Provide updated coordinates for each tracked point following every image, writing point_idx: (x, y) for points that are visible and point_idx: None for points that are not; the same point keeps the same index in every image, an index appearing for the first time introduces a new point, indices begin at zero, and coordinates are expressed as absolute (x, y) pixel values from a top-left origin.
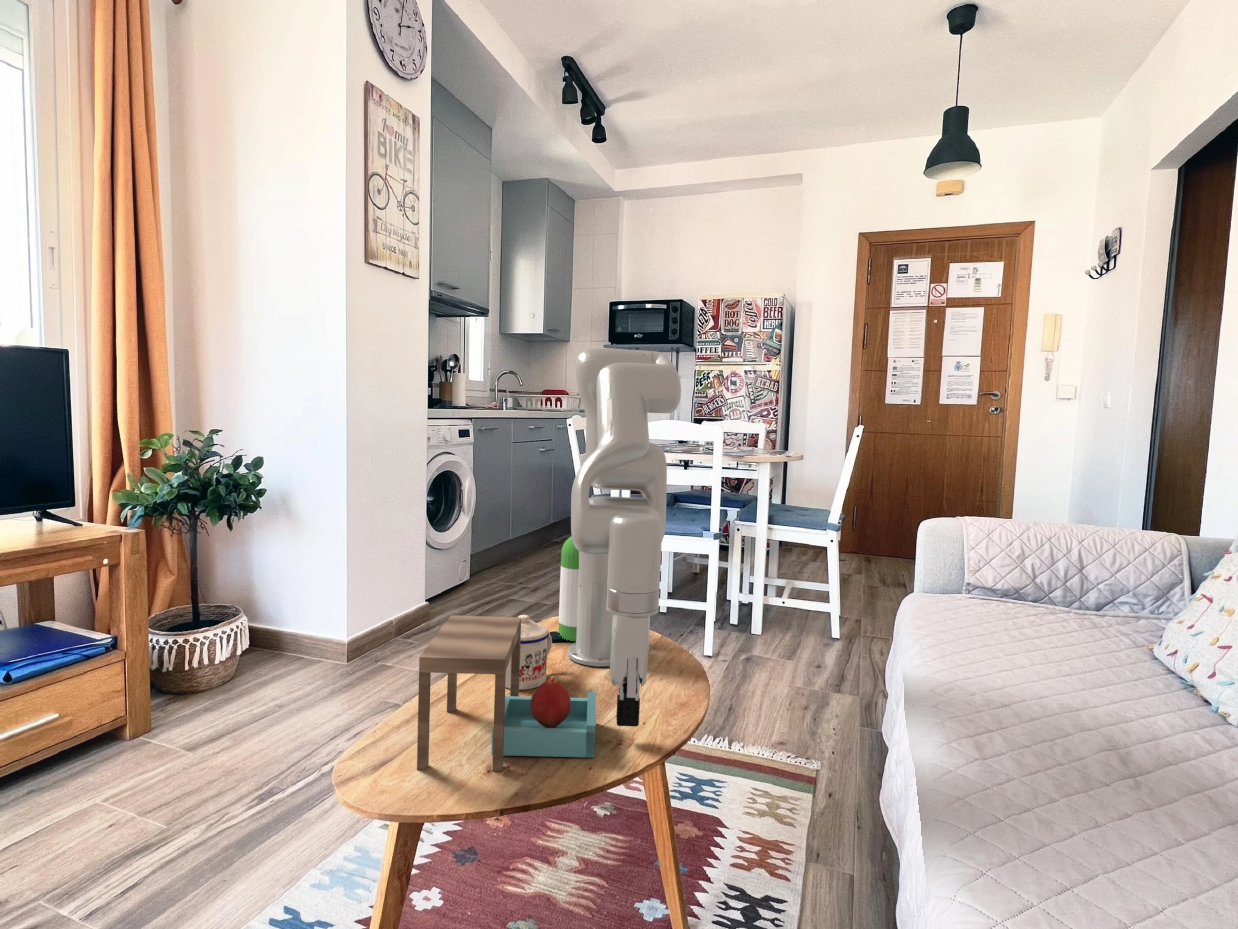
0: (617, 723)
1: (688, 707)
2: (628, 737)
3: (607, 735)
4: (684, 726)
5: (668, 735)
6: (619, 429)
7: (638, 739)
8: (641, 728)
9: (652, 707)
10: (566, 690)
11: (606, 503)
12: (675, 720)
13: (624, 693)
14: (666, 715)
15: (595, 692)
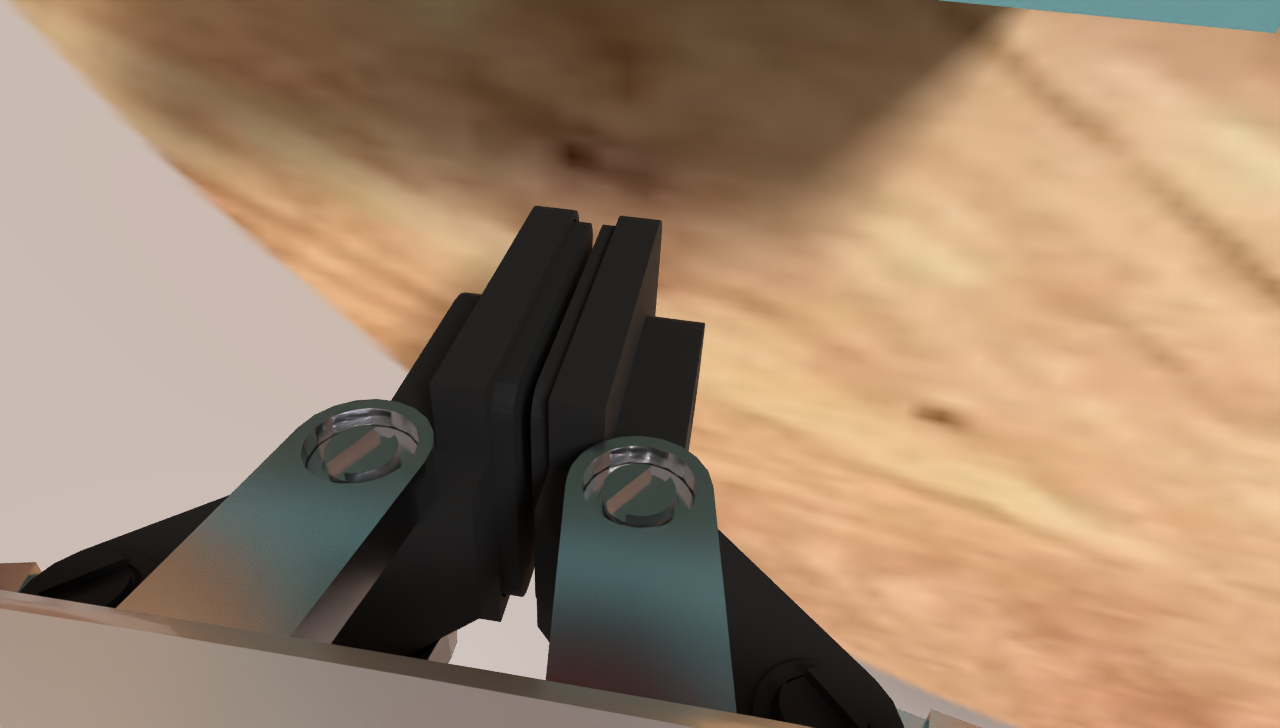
0: (534, 216)
1: (1116, 718)
2: (693, 252)
3: (748, 60)
4: (830, 627)
5: None
6: None
7: None
8: (847, 380)
9: (1227, 535)
10: None
11: None
12: (933, 608)
13: (73, 565)
14: (1034, 582)
15: (1261, 27)
